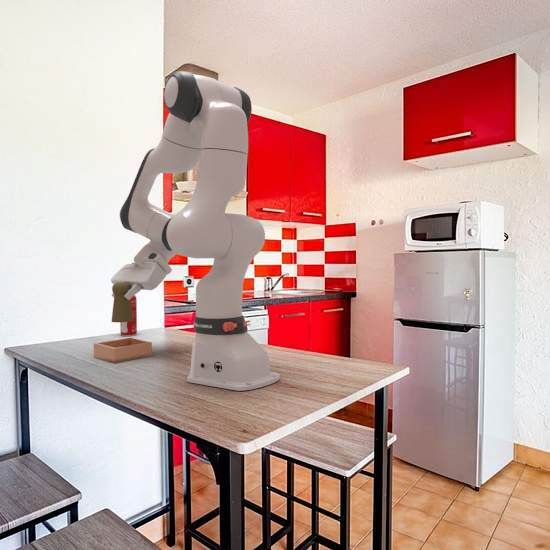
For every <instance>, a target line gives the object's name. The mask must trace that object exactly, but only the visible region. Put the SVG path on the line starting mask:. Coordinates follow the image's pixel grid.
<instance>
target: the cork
mask: <svg viewBox="0 0 550 550" xmlns="http://www.w3.org/2000/svg"><path fill="white" fill-rule="evenodd" d="M130 289H131V285H130V284H129V283H116V284H113V285H112V287H111V291H112V293H114V297H113V306H112V312H111V322H112V323H120V322H130V321H134V319H133V313H132V306H131V300H127V299H125V298H124V297H123V295H124V294H125V292H126V291H129V290H130Z"/></svg>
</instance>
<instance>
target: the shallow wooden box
mask: <svg viewBox="0 0 550 550" xmlns="http://www.w3.org/2000/svg"><path fill="white" fill-rule="evenodd" d="M152 343H153V342H152V341H147V340H143V339H138V338H134V337H127V338H121V339H120V338H119V339H113V340H108V341H107V340H106V341H101V342H94V343H93V358H94V359H98V360H102V361H106V362H108V363H112V364H119V363H123V362H124V363H125V362H127V361H128V362H129V361H132V360H138V359H140V360H141V359H144V358H149V357H153V344H152Z"/></svg>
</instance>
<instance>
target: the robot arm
mask: <svg viewBox="0 0 550 550" xmlns="http://www.w3.org/2000/svg"><path fill="white" fill-rule="evenodd" d="M163 91H164V92H163V101H164V106H165V108H166V110H167V112H168V115H167V118H166V120H165V124H164V128H163V131H162V135H161V138H160V141H159V142H158V144H157V146H156V147H154V148H150V149H149V150H148V151H147V152H146V153H145V155H144V157H143V160H142V161H141V164H140V166H139V168H138V171H137V174H136V176H135V178H134V181H133V183H132V186H131V188H130V191H129V193H128V195H127V198H126V199H125V201H124V203H123V204H122V206H121V208H120V210H119V218H120V219H119V220H120V223H121V225H122V227H123V228H124V229H125V230H127V231H130V232H133V233H134V234H138V235H140V236H142V237H144V238H146V239H147V240H149V242H148V243H147V244H145V245H144V246H143V247H142V248H141V249H140V250H139V251H138V252H137V254H136V255H135V256H133V257H134V258H133V261H134V262H131V263H127V264H124V265H123V266H122V267H121V268H120V269H119V270H118V271H116V272H115V274H113V276H112V277H111V279H110V282H111V283H112V284H113V285H114V284H116V283H129V284H130V285H131V289H130V290H129V291H126V292H125V294H124V295H123V297H124V298H125V299H127V300H130V299H131V298H132V297H133V296H134V295H136V294H139V293H140V292H141V290H144V291H153V290H155V289H156V288H158V287H159V285H160V284H161V283H162V282H163V281H164V280H165V278H166V277H167V275H170V274H171V272H172V270H173V268H172V267H171V266H170V265H169V262H170V260H171V258H173V257H175V256H176V255H179V256H182V257H186V258H191V259H213V264H212V267H211V269H210V270H209V272H208V273H207V274H206V275H204V276H203V277H202V278H200V279H199V280H198V282H197V283H196V286H195V316H194V319H193V321H194V322H193V329H194V330H193V331H194V333H195V337H194V341H193V343H192V348H191V360H190V361H191V362H190V372H189V375H188V376H187V377H186V378H187V379H186V381H187V382H188V383H192V384H197V385H203V386H209V387H212V388H213V387H214V388H220V389H225V390H231V391H236V392H237V391H239V392H240V391H242V392H243V391H250V390H255V389H259V388H263V387H266V386H269V385H272V384H274V383H277V382H278V381H279V380H280V379H281V374H280V373H278V372H276V371H272V370H271V365H270V357H269V354H268V352H267V351H266V349H264V348H263V347H262V346H261V345H260V344H259V343H258V342H257V341H256V340H255V339H254V337H252V335H251V334H250V333H249V332H248V330H249V329H248V326H251V325H252V324H251V320H245V316H244V315H243V292H244V291H243V289H244V288H243V287H244V280H245V276H246V274H247V272H248V268H249V266H250V265H251V262H252V261H253V259H254V258H255V257H256V256H257V255H258V254H259V253H260V252H261V251H262V249H263V247H264V246H265V242H266V241H265V240H266V231H265V229H264V226H263V224H262V222H261V221H259V220H258V219H257V218H253V217H251V216H249V215H246V214H240V213H230V212H229V213H228V212H226V210H227V207H228V204H229V202H230V201H231V200H232V198H233V197H236V196H238V195H240V193H242V192H243V190H244V189H245V186H246V181H247V168H248V166H247V165H248V158H249V157H248V156H249V155H248V154H249V130H248V127H249V126H248V123H249V122H250V119H251V116H252V110H253V108H252V106H253V105H252V101H251V97H250V96H249V94H248V93H247V92H245V91H244V90H242V89H241V88H239V87H237V86H236V87H235V86H232V85H230V84H227V83H224V82H222V81H220V80H217V79H216V78H213V77H210V76H205V75H202V74H196V73H195V74H194V73H193V72H190V71H185V70H179V71H178V70H177V71H174V72H173V73H172V74H171V75H170V76H169V77H168V78H167V80H166V82H165V86H164V90H163ZM197 165H198V171H197V173H198V174H197V180H196V184H195V188H194V191H193V193H192V195H191V197H190V199H189V200H188V201H187V203H186V205H185V206H184V207H183V208H182V209H181V210H180V211H178V212H177V213H175V214H173V213H170V212H169V211H167V210H164V209H162V208H160V207H158V206H156V205H154V204H152V203H151V202H150V201H149V199H148V198H149V195H150V192H152V191H151V190H152V188H153V185H154V184H155V180H156V178H157V177H158V176H159V175H160V174H183V173H187V172H190V171H192V170H194V168H195V167H197ZM111 297H113V298H114V293H113V292H112V293H111Z"/></svg>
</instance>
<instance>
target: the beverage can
mask: <svg viewBox="0 0 550 550" xmlns="http://www.w3.org/2000/svg"><path fill="white" fill-rule="evenodd" d="M130 300H131V306H132V313H133V319H134V321H130V322H119V323H120V335H121V336H122V337H134V336H137V334H138V327H137V326H138V322H137V320H138V319H137V318H138V317H137V316H138V314H137V313H138V312H137V307H138V305H137V304H138V302H137V301H138V300H137V296H136V294H135V295H134V296H133V297H132V298H131V299H130Z"/></svg>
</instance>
